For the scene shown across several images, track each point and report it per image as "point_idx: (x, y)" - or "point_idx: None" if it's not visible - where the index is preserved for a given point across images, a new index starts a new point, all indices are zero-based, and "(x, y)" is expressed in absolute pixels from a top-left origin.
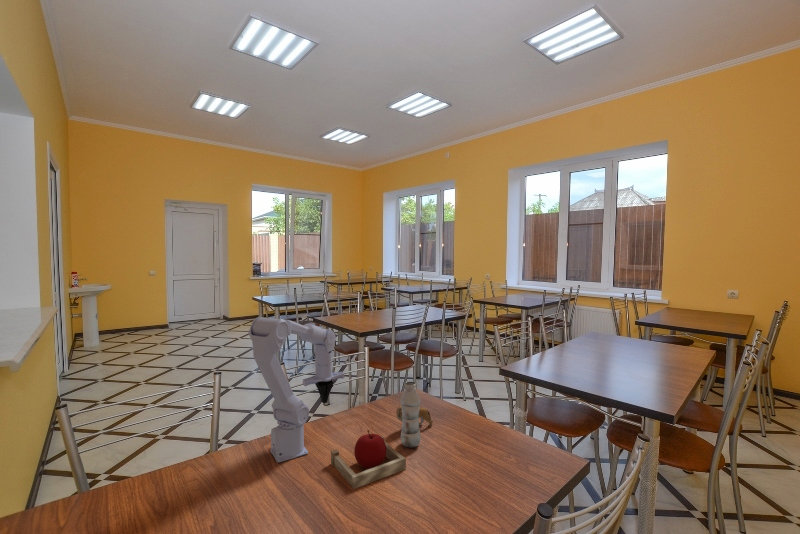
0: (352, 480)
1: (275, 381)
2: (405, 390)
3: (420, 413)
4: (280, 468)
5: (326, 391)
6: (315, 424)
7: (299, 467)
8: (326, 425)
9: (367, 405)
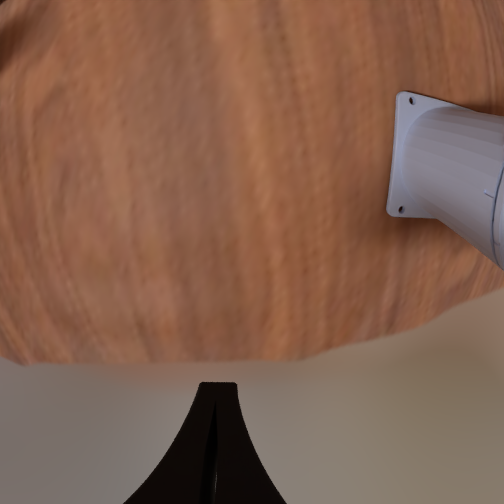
0: None
1: None
2: None
3: None
4: (495, 84)
5: (202, 479)
6: (245, 340)
7: (450, 33)
8: (203, 309)
9: (26, 354)
